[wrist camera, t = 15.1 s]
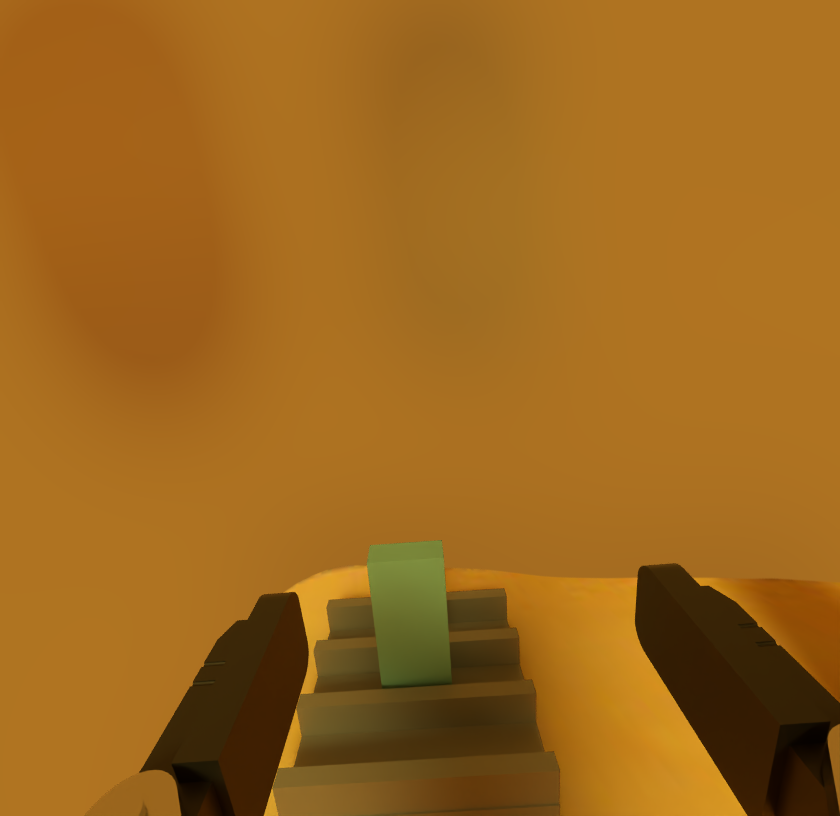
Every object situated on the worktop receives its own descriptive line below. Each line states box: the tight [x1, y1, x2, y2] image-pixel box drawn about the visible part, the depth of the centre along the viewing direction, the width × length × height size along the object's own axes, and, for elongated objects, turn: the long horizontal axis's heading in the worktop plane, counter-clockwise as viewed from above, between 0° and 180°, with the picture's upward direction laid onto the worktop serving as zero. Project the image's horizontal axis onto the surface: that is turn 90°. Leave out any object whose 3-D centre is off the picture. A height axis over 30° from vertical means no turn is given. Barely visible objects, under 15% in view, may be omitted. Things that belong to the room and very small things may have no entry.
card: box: [367, 540, 452, 689], centre depth 29 cm, size 5×2×12 cm, turn 91°
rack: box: [273, 588, 560, 816], centre depth 30 cm, size 16×15×4 cm
